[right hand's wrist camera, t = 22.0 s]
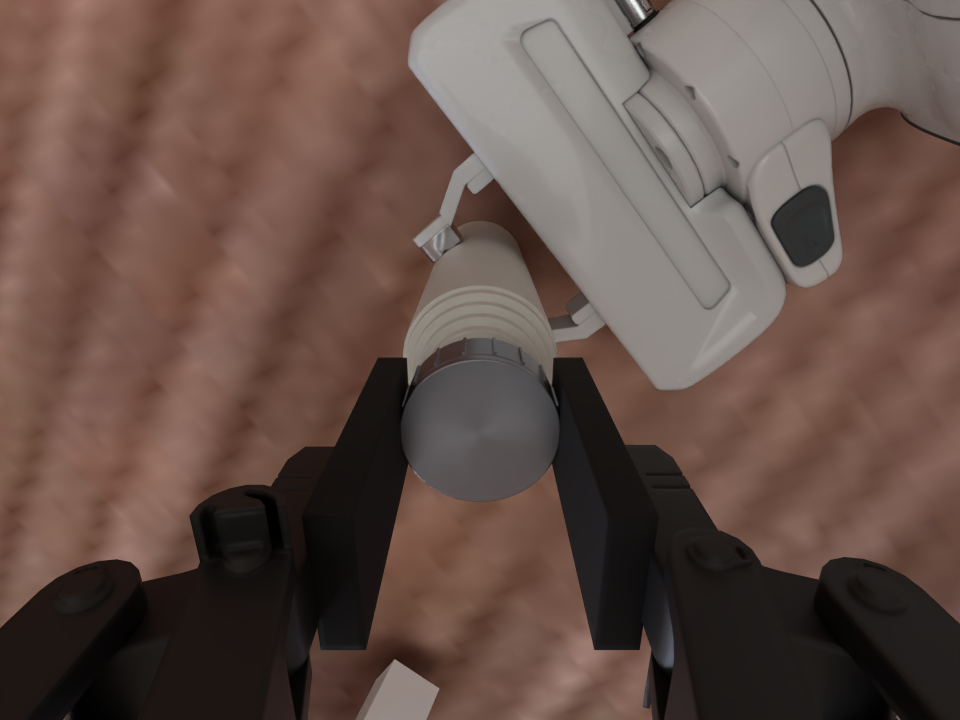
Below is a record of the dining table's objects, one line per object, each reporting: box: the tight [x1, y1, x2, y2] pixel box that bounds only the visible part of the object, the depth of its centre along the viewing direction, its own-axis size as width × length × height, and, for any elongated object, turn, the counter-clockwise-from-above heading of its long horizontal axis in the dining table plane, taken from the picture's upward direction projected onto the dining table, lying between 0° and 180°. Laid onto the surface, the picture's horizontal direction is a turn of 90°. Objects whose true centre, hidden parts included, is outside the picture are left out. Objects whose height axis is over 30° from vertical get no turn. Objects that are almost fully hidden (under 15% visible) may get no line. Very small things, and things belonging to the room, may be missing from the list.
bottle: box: [403, 221, 557, 386], centre depth 23 cm, size 5×5×20 cm
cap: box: [400, 337, 560, 502], centre depth 14 cm, size 4×4×2 cm
